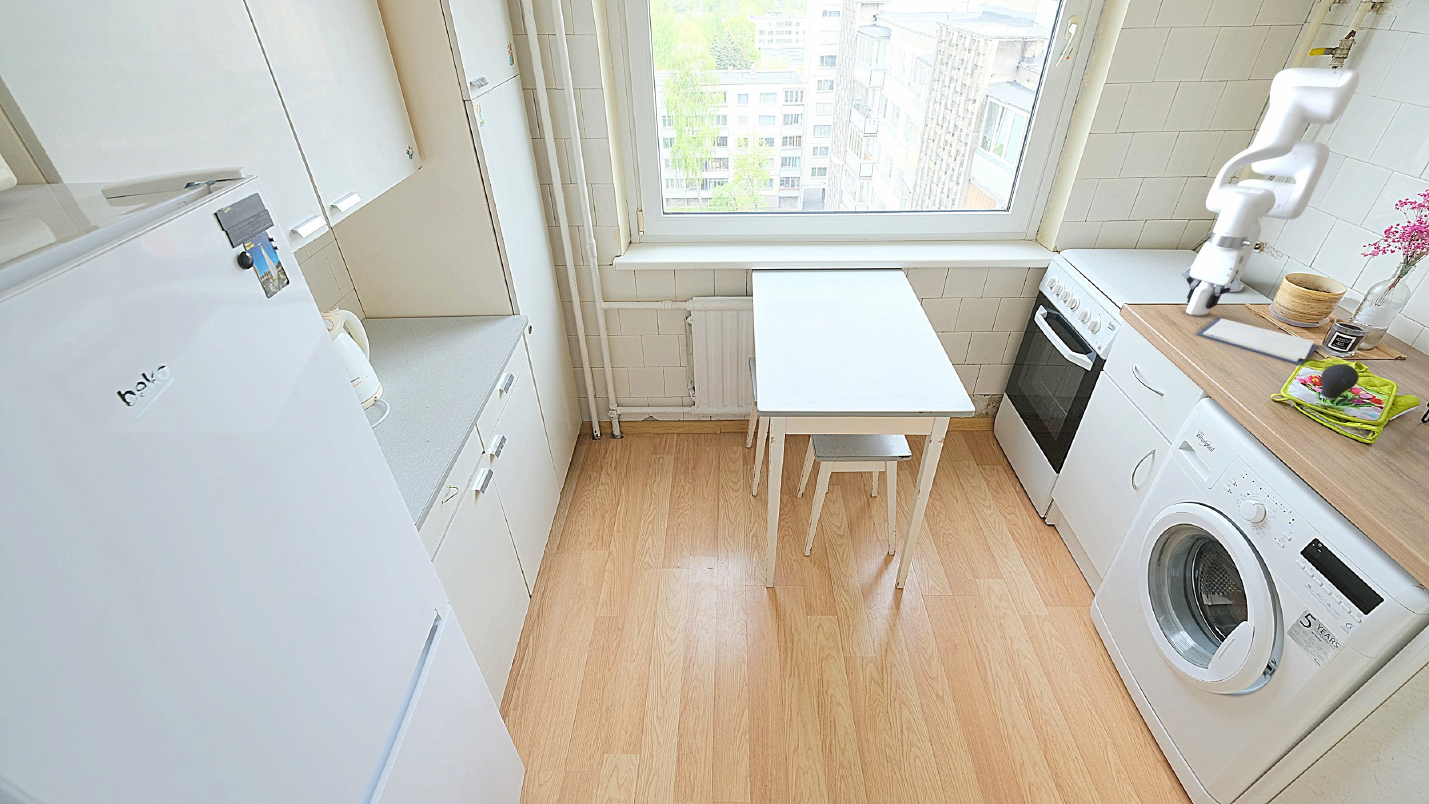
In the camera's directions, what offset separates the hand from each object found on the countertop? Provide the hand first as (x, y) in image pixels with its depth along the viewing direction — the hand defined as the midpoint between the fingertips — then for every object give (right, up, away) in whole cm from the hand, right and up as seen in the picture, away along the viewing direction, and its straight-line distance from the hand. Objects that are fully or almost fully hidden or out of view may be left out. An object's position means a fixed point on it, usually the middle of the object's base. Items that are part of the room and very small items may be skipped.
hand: (1200, 304), depth 178 cm
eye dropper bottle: (0, -3, +2) cm, 3 cm away
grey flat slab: (+4, -12, -14) cm, 18 cm away
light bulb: (-5, -29, -41) cm, 50 cm away
